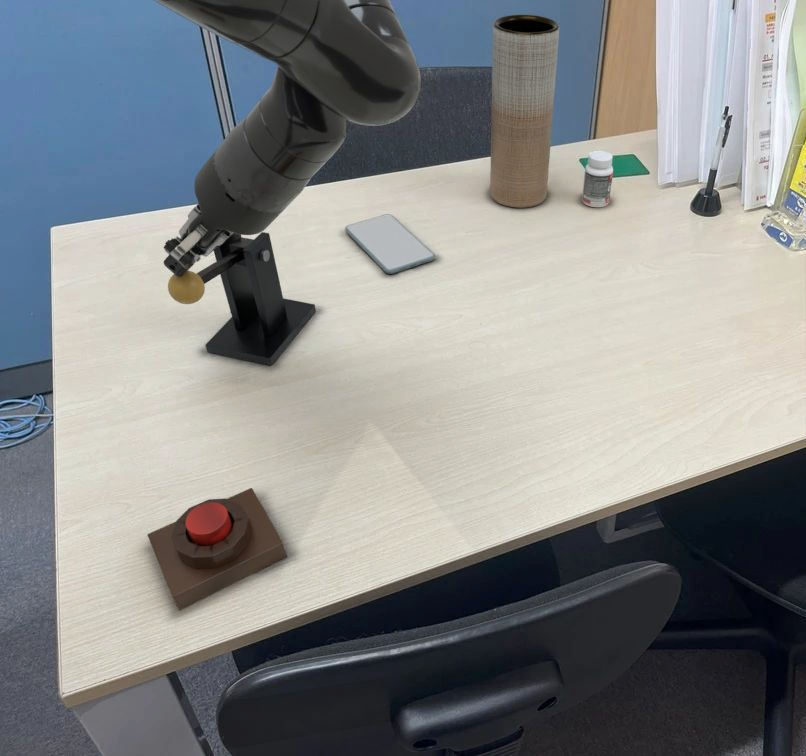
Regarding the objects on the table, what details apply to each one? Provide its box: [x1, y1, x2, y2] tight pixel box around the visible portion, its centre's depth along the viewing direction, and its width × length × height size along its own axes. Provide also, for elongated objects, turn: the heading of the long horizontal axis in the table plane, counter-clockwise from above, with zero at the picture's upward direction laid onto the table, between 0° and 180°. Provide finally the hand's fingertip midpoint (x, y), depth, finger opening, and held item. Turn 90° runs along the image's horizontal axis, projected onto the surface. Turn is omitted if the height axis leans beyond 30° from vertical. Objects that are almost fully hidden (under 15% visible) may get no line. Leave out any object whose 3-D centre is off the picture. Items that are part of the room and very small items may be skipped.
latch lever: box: [167, 236, 255, 305], centre depth 79 cm, size 14×4×4 cm, turn 165°
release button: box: [185, 502, 232, 546], centre depth 64 cm, size 4×4×2 cm
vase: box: [489, 14, 560, 209], centre depth 114 cm, size 10×10×28 cm
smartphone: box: [344, 213, 436, 275], centre depth 109 cm, size 8×1×15 cm
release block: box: [147, 487, 288, 611], centre depth 65 cm, size 10×8×4 cm
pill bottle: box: [581, 150, 614, 208], centre depth 119 cm, size 5×5×8 cm
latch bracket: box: [205, 231, 317, 367], centre depth 88 cm, size 12×9×14 cm
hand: (174, 267), depth 74 cm, fingers closed
